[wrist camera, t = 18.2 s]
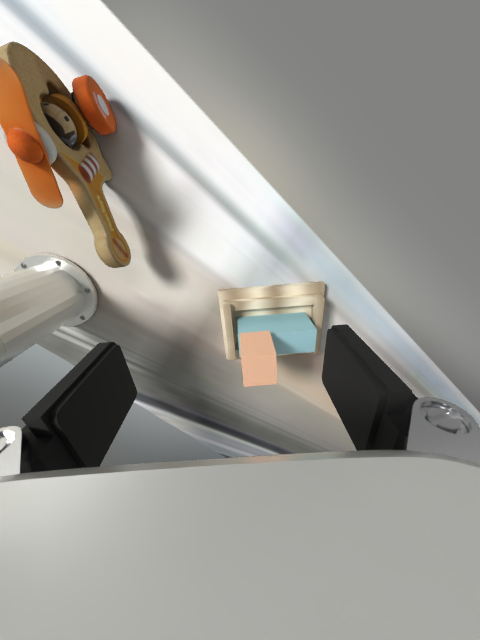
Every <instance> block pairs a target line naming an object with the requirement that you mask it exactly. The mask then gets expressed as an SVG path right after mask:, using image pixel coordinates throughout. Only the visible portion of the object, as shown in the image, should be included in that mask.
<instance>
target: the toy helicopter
mask: <svg viewBox="0 0 480 640" xmlns="http://www.w3.org/2000/svg"><path fill="white" fill-rule="evenodd" d="M72 86H73V92H72V93H70V92H69V91H68V89H67V88H66V87H65V85H64V84H63V83H62V81H61V80H60V79H59V78H58V76H57V75H56V74H55V73H54V72H53V71H52V69H51V68H50V67H49V66H48V65H47V64H46V63H45V62H44V61H43V60H42V59H41V58H39V57H38V56H37V55H36V54H35V53H33V52H32V51H31V50H29V49H28V48H27V47H25V46H23V45H21V44H19V43H17V42H10V43H7V44H5V45H3V46H1V47H0V124H1V126H2V128H3V134H4V137H5V140H6V142H7V143H8V146H9V148H10V150H11V151H12V152H13V153H14V154H15V156H16V159H17V161H18V164H19V166H20V169H21V171H22V173H23V175H24V178H25V180H26V182H27V184H28V187H29V189H30V191H31V194H32V195H33V196H34V198H35V199H36V200H37V201H38V202H39V203H41V204H42V205H44V206H46V207H49V208H59V207H61V206H62V204H63V198H62V195H61V193H60V190H59V187H58V184H57V181H56V179H55V176H54V174H53V171H52V169H51V167H52V168H53V169H54V170H55V171H56V173H57V174H58V175H60V176H61V177H62V178H63V179H64V180H65V181H66V183H67V184H68V185H69V187H70V189H71V191H72V193H73V195H74V197H75V199H76V201H77V203H78V205H79V207H80V209H81V210H82V212H83V214H84V216H85V218H86V220H87V222H88V224H89V226H90V228H91V230H92V232H93V235H94V244H95V249H96V252H97V254H98V256H99V257H100V259H101V260H102V261H103V262H104V263H105V264H106V265H107V266H109V267H112V268H118V267H124V266H127V265H128V264H129V263H130V260H131V253H130V249H129V246H128V244H127V242H126V240H125V238H124V237H123V235H122V234H121V233H120V232H119V230H118V229H117V227H116V224H115V221H114V219H113V216H112V214H111V211H110V209H109V206H108V204H107V201H106V199H105V196H104V194H103V190H102V186H103V184H104V181H109V180H111V179H112V173H111V170H110V168H109V166H108V165H107V163H106V162H105V160H104V158H103V156H102V154H101V152H100V149H99V146H98V143H97V141H96V138H95V136H94V134H93V131H92V129H91V128H94V130H95V131H97V132H98V133H99V134H101V135H107V134H110V133H113V132H115V130H116V122H115V117H114V115H113V112H112V109H111V107H110V105H109V103H108V101H107V99H106V97H105V95H104V93H103V91H102V90H101V88H100V87H99V85H98V84H97V83H96V81H95V80H94V79H93V78H92V77H90V76H88V75H84V76H81V77H78V78H75V79H74V80H73V82H72Z"/></svg>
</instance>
